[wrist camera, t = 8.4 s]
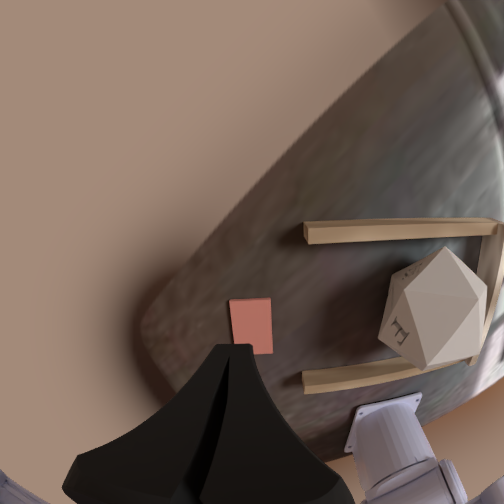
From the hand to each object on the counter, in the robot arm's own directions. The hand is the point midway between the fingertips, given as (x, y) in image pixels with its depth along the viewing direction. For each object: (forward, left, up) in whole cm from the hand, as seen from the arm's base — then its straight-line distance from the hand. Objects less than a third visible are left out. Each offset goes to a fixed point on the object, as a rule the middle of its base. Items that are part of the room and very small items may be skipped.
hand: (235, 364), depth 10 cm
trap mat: (-5, 0, -10) cm, 12 cm away
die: (-3, -14, -11) cm, 17 cm away
